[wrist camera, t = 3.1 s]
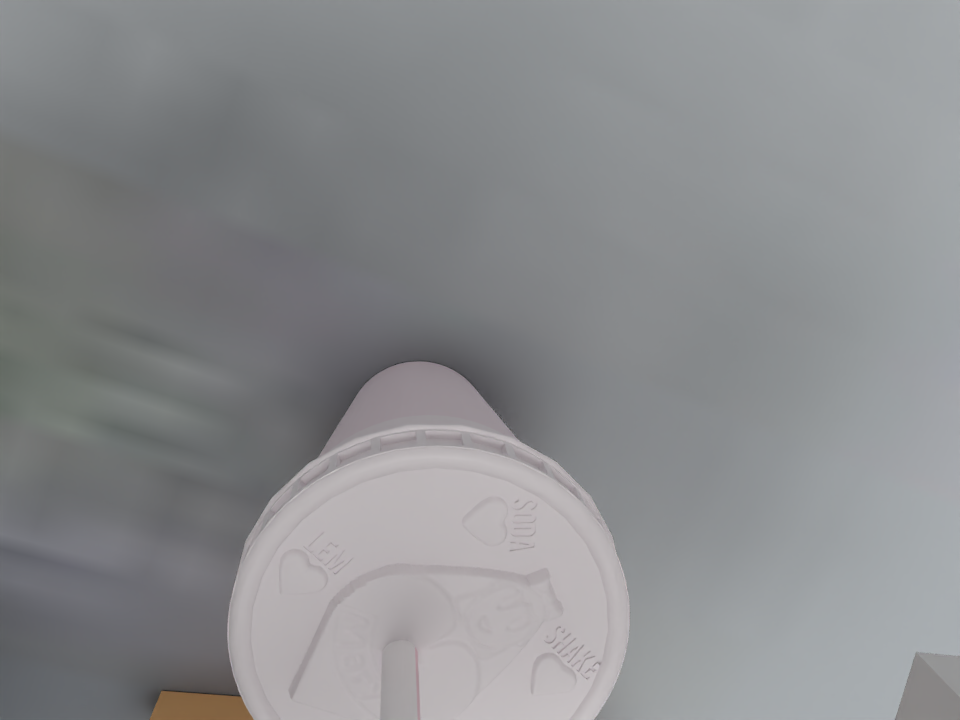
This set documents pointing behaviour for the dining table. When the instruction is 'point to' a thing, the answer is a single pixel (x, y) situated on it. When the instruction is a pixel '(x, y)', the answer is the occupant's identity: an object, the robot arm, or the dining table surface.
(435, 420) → the smoothie
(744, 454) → the dining table surface
